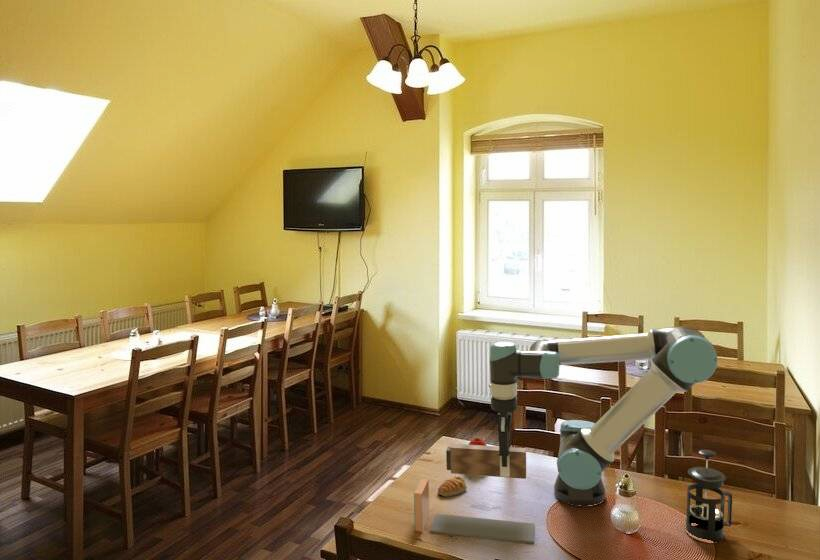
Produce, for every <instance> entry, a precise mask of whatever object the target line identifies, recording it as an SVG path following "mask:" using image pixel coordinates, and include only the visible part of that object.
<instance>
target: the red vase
mask: <svg viewBox="0 0 820 560" xmlns="http://www.w3.org/2000/svg"><path fill="white" fill-rule="evenodd" d="M468 445H482V446H488V444H487V443H486V442H485V440H484V439H482V438H480V437H474V438H472V440H470V441H469V443H468Z"/></svg>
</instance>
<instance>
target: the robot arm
mask: <svg viewBox="0 0 820 560" xmlns="http://www.w3.org/2000/svg"><path fill="white" fill-rule="evenodd" d="M489 349H490V350H489V375H490V378H489V379H490V380H489V381H490V383H489V384H488V388H490V395H491V396H490V408H491V410H493V411H494V412H498V413H497V416H496V423H497V431H498V447H499V453H497V455H499V456H500V476H503V477H502V478H508V477H510V461H509V447H513V445H512V444H511V441H512V440H511V427H512V414H511V413H512V412H516V410H517V409H518V397H517V395H518V382H517V381H518V380H517V378H535V379H545V380H547V379H557V378H559V376H560V366H565V365H566V366H567V365H585V364H598V363H599V364H601V363H615V362H617V363H618V362H630V361H631V362H633V361H647V360H648V361H649V360H650V369H649V370H648V371H647V372H646V373H645V374H644V375H643V376H642V377H641V378H640V379H639V380H638V381H637V382H635V384H634V385H633V386H632V387H631V388H629V389H628V391H626V393H624V394H623V395H622V397H621V398H620V399H619V400H617V401H616V403H614V404H613V405H612V406H611V408H609V409H608V411H607V412H605V413H604V414H603V415H602V416H601V417H600V419H599V420H597V421H596V423H595V422H592V421H587V420H583V419H581V420H579V419H570V420H564V421H562V422H561V424H560V429H559V432H560V438H559V450H558V456H557V460H556V468H557V472H558V473H557V477H556V479H555V482H554V485H553V486H554V487H553V493H554V496H555V497H556V499H558V500H559V501H560V502H561V503H562V502H563V503H564V502H565V503H564V504H567V503H569V504H568V505H570V504H573V505H572V506H574V505H581V506H588V505H594V504H598V503H600V502H602V501H603V500H604V499H605V500H606V489H605V486H604V481H603V479H602V474H603V472H604V471H605V470H606V469H607V468H608V467H609V466H610V465H611V464H612V463H613V462H614V461H615V452H616V451H617V450H618V449H619V448H620V447H621V446H622V445H623V444H625V442H626V441H628V439H630V438H631V436H632V435H634V434H635V433H636V432H637V431H638V430H639V429H640V428H641V427H642V426H643V425H644V424H646V422H647V421H648V420H649V419H650V418H651V417H652V416H653V415H655V414H656V413H657V412H658V410H660V409H661V408H662V407H663V406H664V405H665V404H666V403H667V402H668V401H670V399H672V397H674V395H675V394H676V393H678V392H679V393H680V392H681V393H682V392H684V393H685V392H688V391H689V390H690V389H691V388H692V387H693V386H694V385H695V384H699V383H700V384H701V383H702V382H705V381H706V380H708V379H710V378H711V377H712V376H713V374H714V373H715V371H716V370H717V367H718V355H717V351H716V348H715V346H713V344H712V342H710V341H709V339H708V338H706V336H705V335H704V334H703V333H702V332H701V331H699V330H698V329H696V328H694V327H691V326H685V325H684V326H683V325H682V326H671V327H670V326H669V327H663V328H662V327H660V328H652V329H650V328H649V330H648V331H647V332H646V333H636V334H634V333H632V334H622V335H621V334H620V335H609V336H593V337H583V338H582V337H581V338H572V339H571V338H570V339H558V340H549V339H547V338H540V339H537V340H536V341H534V342H533V343H532V344H531V346H530V347H529V350H518V349H517V345H516V343H513V342H508V341H499V342H498V341H497V342H494V343H493V344H491V345H490V348H489Z"/></svg>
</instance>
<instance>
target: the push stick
mask: <svg viewBox="0 0 820 560" xmlns="http://www.w3.org/2000/svg"><path fill="white" fill-rule="evenodd" d="M445 452H446V459H445V460H446V461H445V462H446V471H450V474H457V475H469V476H481V477H482V476H484V477H494V478H495V477H496V478H497V477H498V478H504V477H503V476H500V456H499V455H497V453H499V445H498V446H495V445H487V446H482V445H469V444H465V443H451V445H450V446H447V448H446V450H445ZM509 461H510V477H507V478H510V479H524V480H525V479H527V448H526V447H513V446H512V447H509Z"/></svg>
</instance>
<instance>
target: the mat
mask: <svg viewBox="0 0 820 560" xmlns="http://www.w3.org/2000/svg"><path fill="white" fill-rule="evenodd" d="M535 525H536V524H535V523H532V522H524V521H512V520H511V521H510V520H503V519H492V518H481V517H471V516H464V515H463V516H462V515H452V514H451V515H450V514H442V513H441V514H440V513H436V514H435V515H434V518H433V521H432V523H431V526H430V529H429V533H433V534H435V533H436V534H441V535H442V534H444V535H450V536H451V535H452V536H461V537H469V538H470V537H472V538H479V539H489V540H491V539H492V540H499V541H509V542H517V543H527V544H534V541H535Z"/></svg>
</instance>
